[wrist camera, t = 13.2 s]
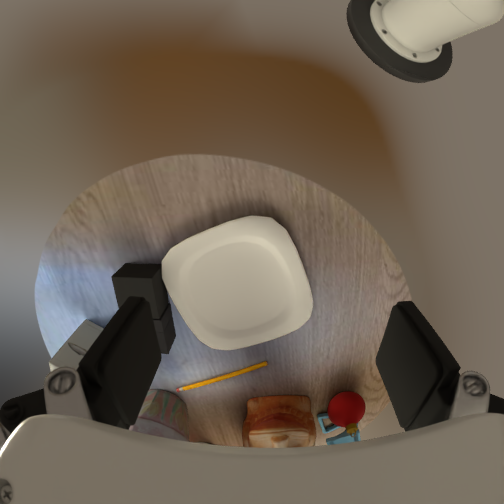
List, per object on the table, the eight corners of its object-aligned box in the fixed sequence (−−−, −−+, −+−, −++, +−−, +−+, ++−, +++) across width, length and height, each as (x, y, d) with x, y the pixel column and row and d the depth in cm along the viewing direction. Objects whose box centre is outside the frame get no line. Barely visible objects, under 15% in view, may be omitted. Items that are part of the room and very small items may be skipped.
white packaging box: (121, 334, 41) (88, 385, 29) (118, 361, 43) (91, 410, 31) (85, 316, 40) (47, 361, 28) (85, 345, 42) (53, 388, 30)
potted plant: (102, 371, 45) (50, 467, 21) (190, 374, 43) (157, 503, 20) (138, 423, 51) (109, 507, 27) (216, 428, 49) (202, 528, 26)
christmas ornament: (349, 407, 46) (360, 445, 37) (318, 405, 45) (326, 446, 36) (366, 384, 44) (381, 424, 34) (334, 382, 43) (346, 425, 34)
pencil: (176, 387, 45) (175, 390, 44) (265, 359, 41) (265, 362, 41) (179, 390, 45) (178, 392, 44) (267, 363, 42) (267, 365, 41)
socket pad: (133, 300, 38) (122, 316, 34) (170, 303, 38) (161, 320, 34) (141, 332, 40) (131, 349, 36) (176, 335, 40) (168, 354, 36)
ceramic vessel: (318, 376, 42) (333, 448, 28) (304, 445, 52) (309, 497, 38) (238, 379, 43) (231, 453, 29) (246, 447, 52) (243, 500, 38)
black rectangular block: (125, 263, 36) (111, 276, 32) (163, 263, 36) (152, 278, 32) (135, 310, 39) (123, 326, 34) (170, 313, 39) (161, 330, 34)
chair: (358, 419, 48) (370, 462, 37) (323, 430, 49) (330, 474, 38) (356, 402, 45) (370, 449, 34) (316, 414, 47) (324, 462, 35)
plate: (151, 251, 35) (146, 256, 34) (277, 199, 32) (278, 201, 31) (209, 351, 41) (207, 358, 39) (320, 317, 38) (323, 323, 36)
